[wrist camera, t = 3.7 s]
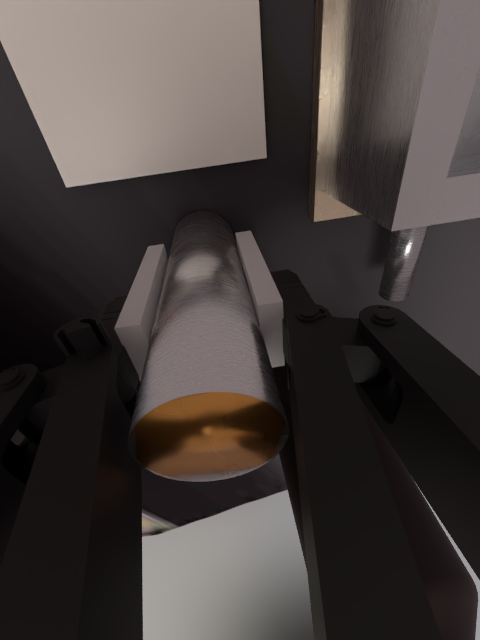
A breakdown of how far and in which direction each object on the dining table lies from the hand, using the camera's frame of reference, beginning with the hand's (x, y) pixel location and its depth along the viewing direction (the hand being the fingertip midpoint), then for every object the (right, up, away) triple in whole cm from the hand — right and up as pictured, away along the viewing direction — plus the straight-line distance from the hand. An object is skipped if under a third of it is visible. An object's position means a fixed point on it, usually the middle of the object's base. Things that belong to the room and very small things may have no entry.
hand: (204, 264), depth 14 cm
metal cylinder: (0, +2, +3) cm, 3 cm away
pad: (-2, +9, -3) cm, 10 cm away
